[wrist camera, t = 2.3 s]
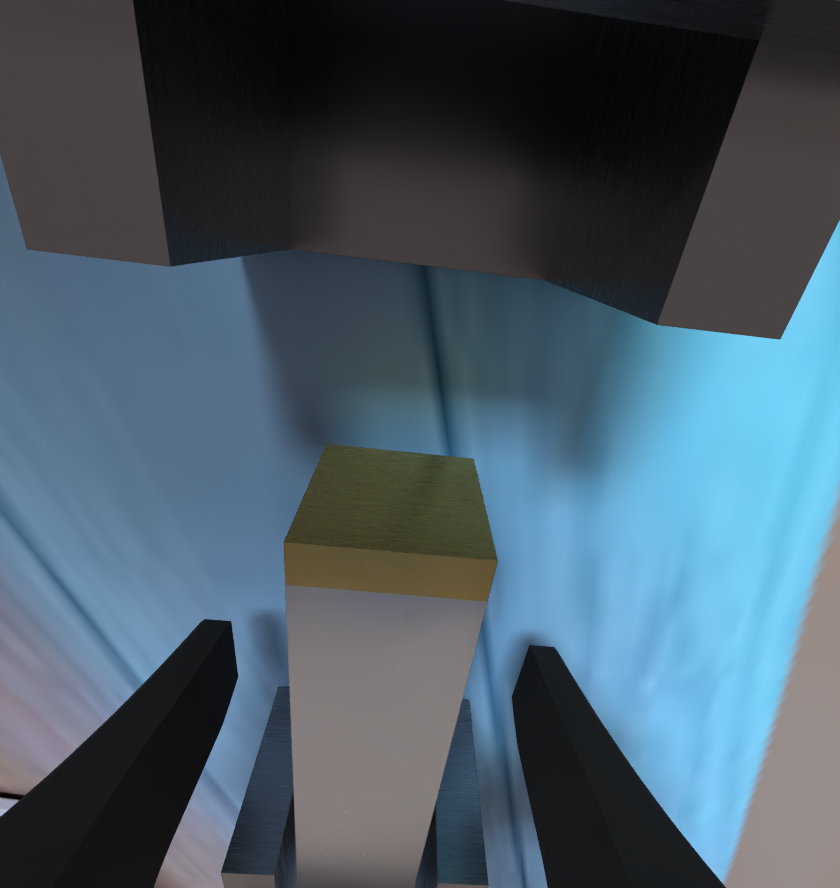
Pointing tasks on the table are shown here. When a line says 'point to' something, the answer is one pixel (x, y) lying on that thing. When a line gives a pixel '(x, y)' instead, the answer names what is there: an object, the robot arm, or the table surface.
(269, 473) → the table surface
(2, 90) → the socket
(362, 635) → the rod
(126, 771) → the robot arm
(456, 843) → the sleeve
